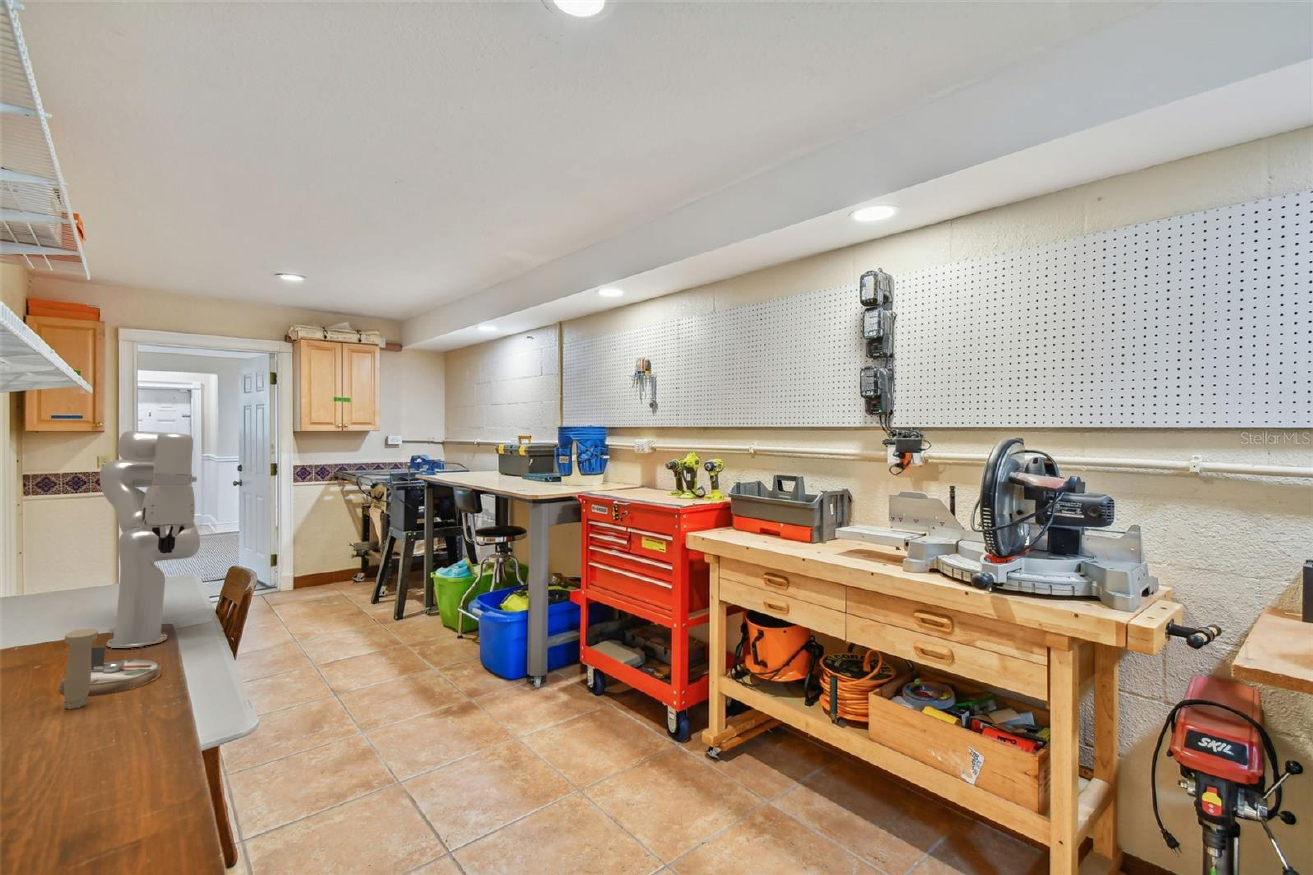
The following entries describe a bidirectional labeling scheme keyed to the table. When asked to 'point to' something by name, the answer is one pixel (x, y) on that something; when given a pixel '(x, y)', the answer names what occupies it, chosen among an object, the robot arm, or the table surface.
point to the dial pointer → (109, 667)
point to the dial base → (120, 678)
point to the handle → (78, 667)
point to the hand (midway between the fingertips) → (165, 552)
